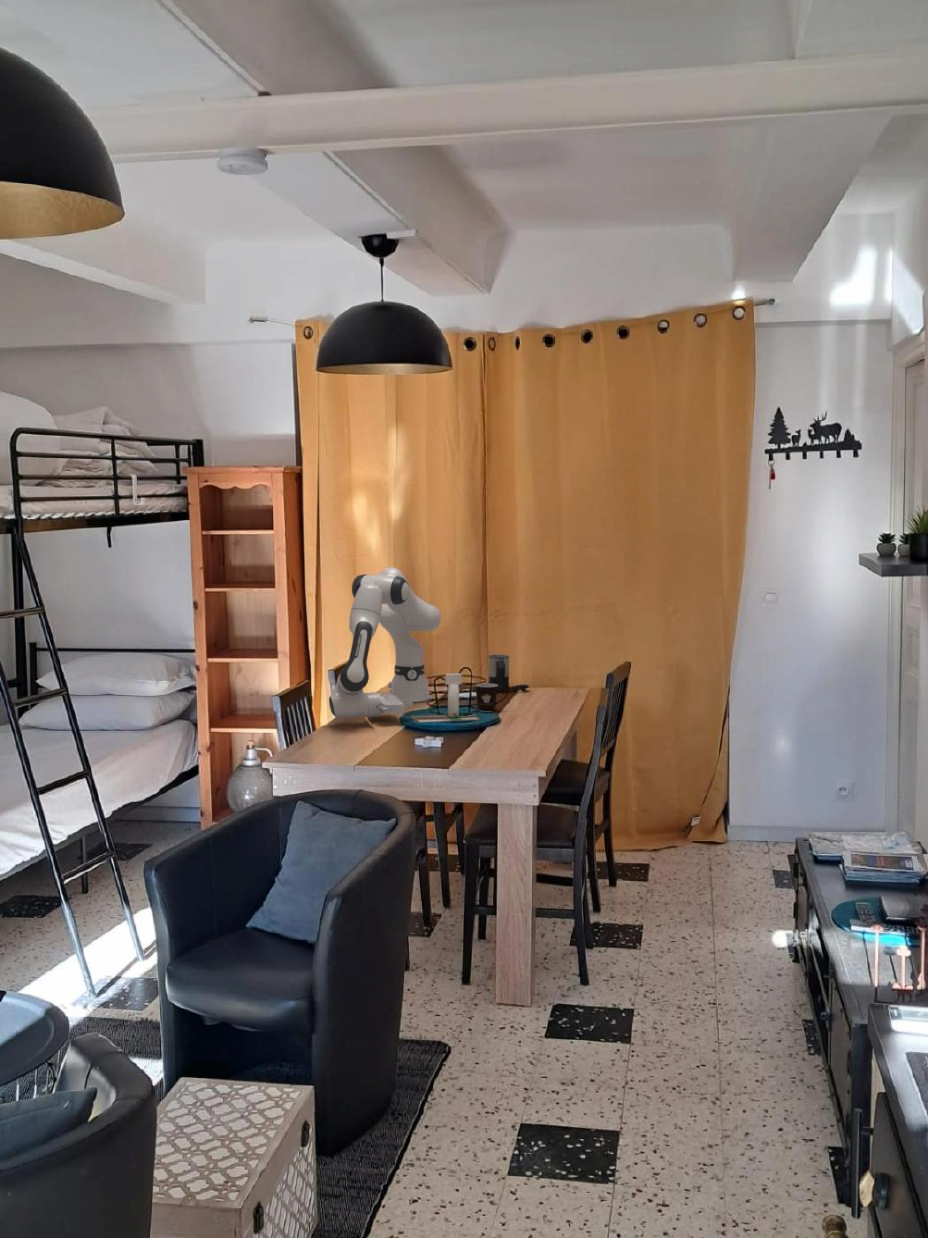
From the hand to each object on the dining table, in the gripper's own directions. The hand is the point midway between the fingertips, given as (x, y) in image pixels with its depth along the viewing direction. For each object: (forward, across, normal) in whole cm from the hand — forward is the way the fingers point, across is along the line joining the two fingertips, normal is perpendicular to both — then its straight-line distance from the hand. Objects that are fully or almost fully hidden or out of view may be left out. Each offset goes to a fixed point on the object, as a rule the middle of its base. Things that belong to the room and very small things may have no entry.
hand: (412, 703), depth 437 cm
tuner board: (+12, 0, +7) cm, 14 cm away
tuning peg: (+15, -2, +5) cm, 16 cm away
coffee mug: (+34, +17, +7) cm, 38 cm away
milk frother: (+53, +60, +7) cm, 80 cm away
